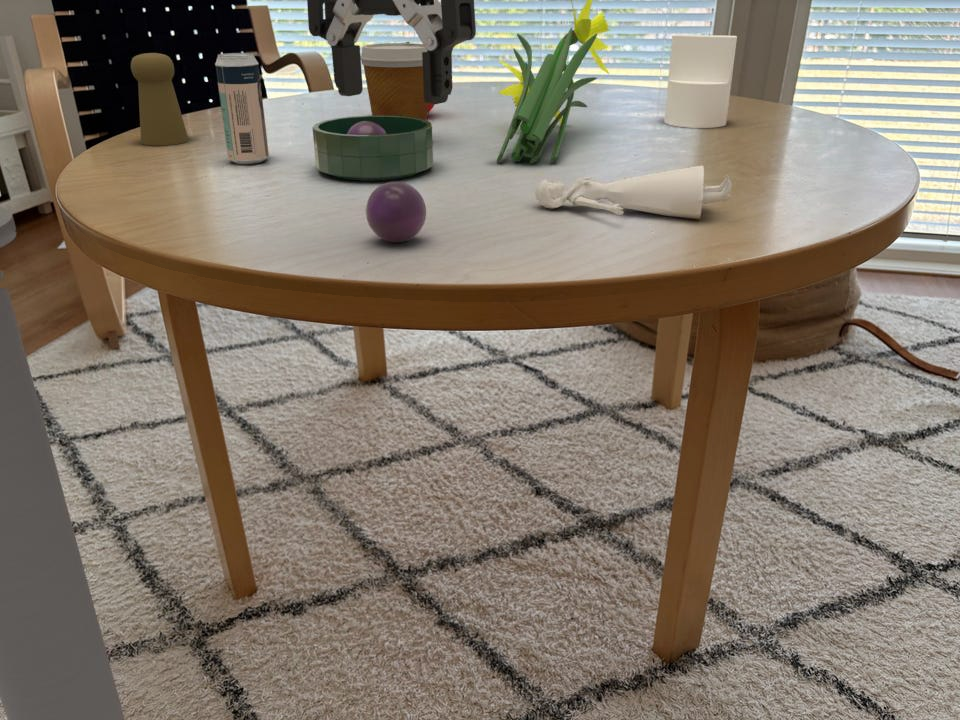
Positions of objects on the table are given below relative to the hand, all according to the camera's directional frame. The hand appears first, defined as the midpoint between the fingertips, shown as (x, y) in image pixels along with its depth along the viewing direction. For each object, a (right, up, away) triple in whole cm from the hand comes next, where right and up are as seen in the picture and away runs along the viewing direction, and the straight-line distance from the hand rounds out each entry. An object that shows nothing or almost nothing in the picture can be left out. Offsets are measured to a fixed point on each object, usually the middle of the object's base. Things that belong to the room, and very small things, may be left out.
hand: (392, 99), depth 64 cm
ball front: (0, -10, +5) cm, 12 cm away
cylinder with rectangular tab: (+39, +15, +57) cm, 71 cm away
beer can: (-21, +3, +34) cm, 40 cm away
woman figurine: (+21, -7, +13) cm, 26 cm away
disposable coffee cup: (-4, +8, +43) cm, 44 cm away
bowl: (-5, +1, +29) cm, 30 cm away
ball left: (-6, +1, +28) cm, 29 cm away
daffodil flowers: (+16, +8, +44) cm, 48 cm away
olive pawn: (-35, +9, +45) cm, 58 cm away
